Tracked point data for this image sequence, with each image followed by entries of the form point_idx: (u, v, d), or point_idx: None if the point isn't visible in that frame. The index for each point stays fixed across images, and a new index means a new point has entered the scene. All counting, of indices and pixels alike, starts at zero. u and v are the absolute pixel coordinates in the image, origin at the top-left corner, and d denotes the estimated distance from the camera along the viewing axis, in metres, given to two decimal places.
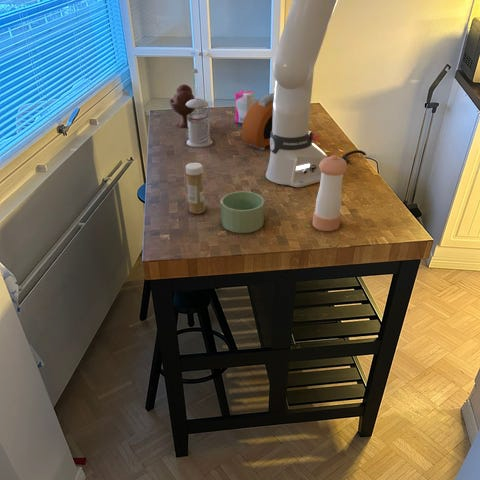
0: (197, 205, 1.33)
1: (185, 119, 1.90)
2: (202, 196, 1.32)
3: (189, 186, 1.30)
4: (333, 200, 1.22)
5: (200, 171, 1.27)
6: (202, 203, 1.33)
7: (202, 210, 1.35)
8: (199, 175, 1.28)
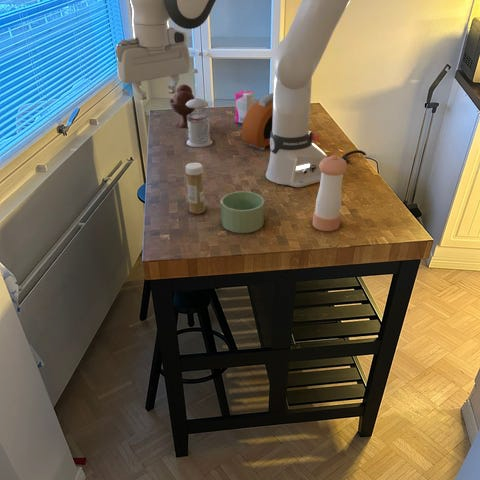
0: (197, 205, 1.33)
1: (185, 119, 1.90)
2: (202, 196, 1.32)
3: (189, 186, 1.30)
4: (333, 200, 1.22)
5: (200, 171, 1.27)
6: (202, 203, 1.33)
7: (202, 210, 1.35)
8: (199, 175, 1.28)
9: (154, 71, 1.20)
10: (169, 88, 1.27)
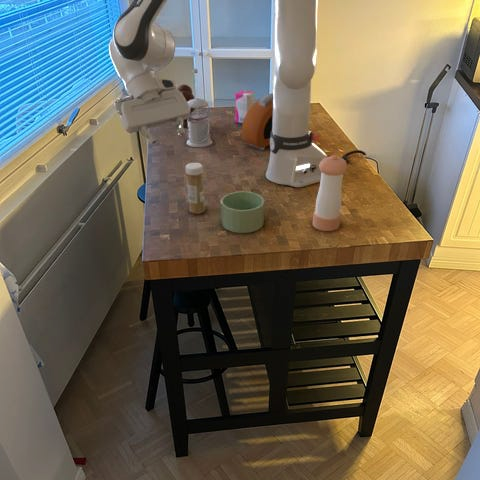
0: (197, 205, 1.33)
1: (185, 119, 1.90)
2: (202, 196, 1.32)
3: (189, 186, 1.30)
4: (333, 200, 1.22)
5: (200, 171, 1.27)
6: (202, 203, 1.33)
7: (202, 210, 1.35)
8: (199, 175, 1.28)
9: (155, 114, 1.29)
10: (178, 131, 1.34)
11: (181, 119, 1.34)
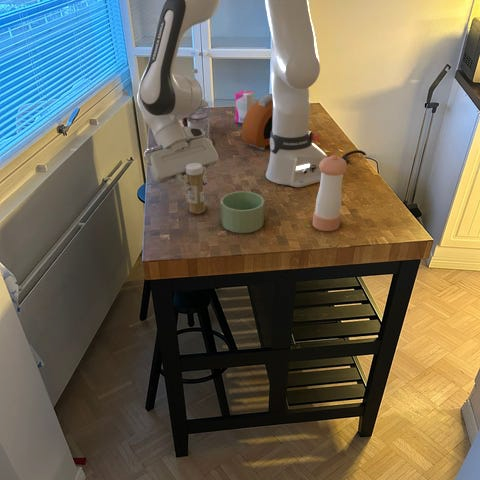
0: (197, 205, 1.33)
1: (185, 119, 1.90)
2: (202, 196, 1.32)
3: None
4: (333, 200, 1.22)
5: (200, 171, 1.27)
6: (202, 203, 1.33)
7: (202, 210, 1.35)
8: (199, 175, 1.28)
9: (184, 164, 1.28)
10: None
11: (204, 169, 1.32)
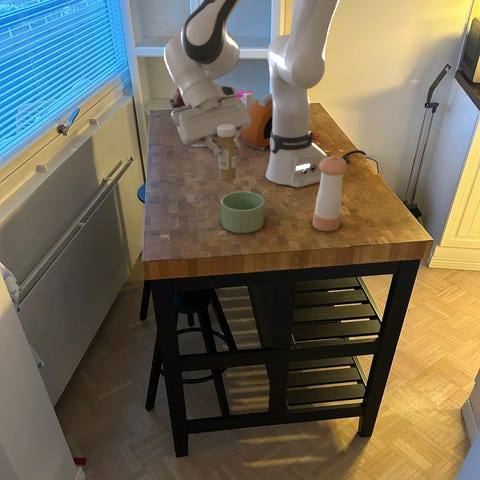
0: (228, 171, 1.22)
1: None
2: (234, 161, 1.21)
3: None
4: (333, 200, 1.22)
5: (233, 132, 1.16)
6: (233, 169, 1.22)
7: (233, 177, 1.23)
8: (232, 137, 1.16)
9: (215, 125, 1.17)
10: None
11: (236, 131, 1.21)
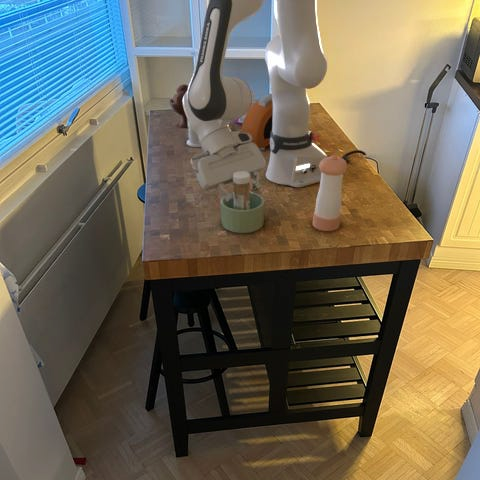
0: None
1: (185, 119, 1.90)
2: (248, 206, 1.26)
3: (236, 195, 1.24)
4: (333, 200, 1.22)
5: (248, 180, 1.21)
6: None
7: None
8: (247, 184, 1.22)
9: (231, 170, 1.22)
10: (253, 186, 1.27)
11: (257, 173, 1.27)
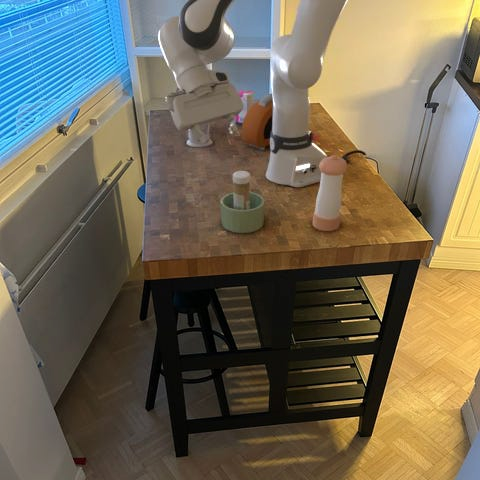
0: None
1: None
2: (248, 206, 1.26)
3: (236, 195, 1.24)
4: (333, 200, 1.22)
5: (248, 180, 1.21)
6: None
7: None
8: (247, 184, 1.22)
9: (208, 111, 1.19)
10: (230, 129, 1.24)
11: (234, 116, 1.24)
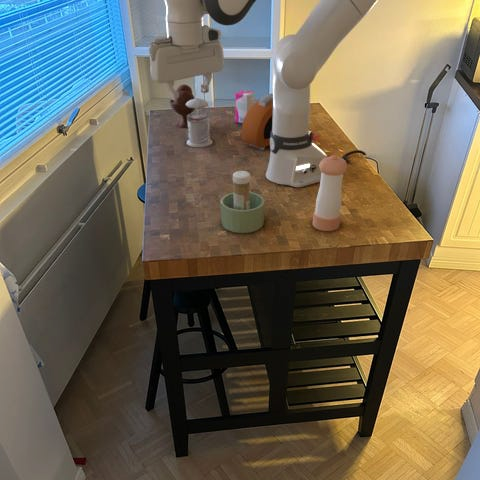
0: None
1: (185, 119, 1.90)
2: (248, 206, 1.26)
3: (236, 195, 1.24)
4: (333, 200, 1.22)
5: (248, 180, 1.21)
6: None
7: None
8: (247, 184, 1.22)
9: (187, 70, 1.17)
10: (202, 87, 1.24)
11: (210, 76, 1.23)
